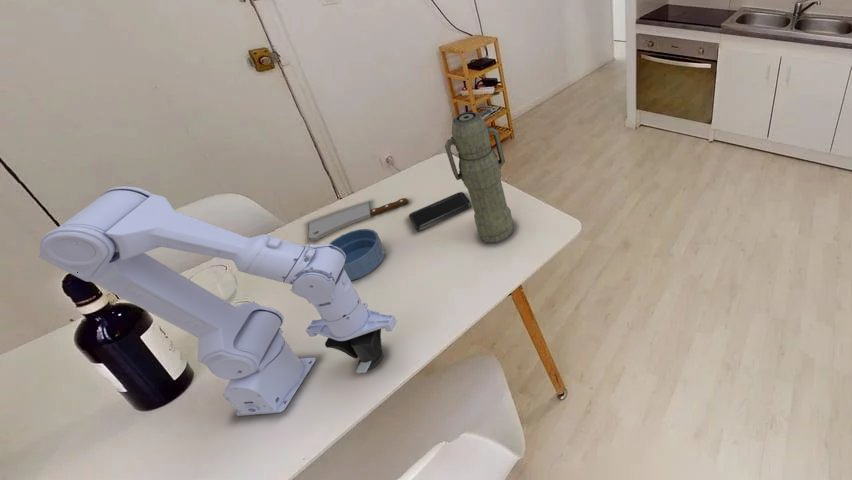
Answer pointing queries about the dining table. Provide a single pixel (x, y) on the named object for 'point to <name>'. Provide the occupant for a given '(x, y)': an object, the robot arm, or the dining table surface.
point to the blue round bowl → (360, 251)
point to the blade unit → (365, 357)
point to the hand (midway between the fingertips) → (368, 352)
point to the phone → (439, 211)
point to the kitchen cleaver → (347, 218)
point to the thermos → (481, 175)
